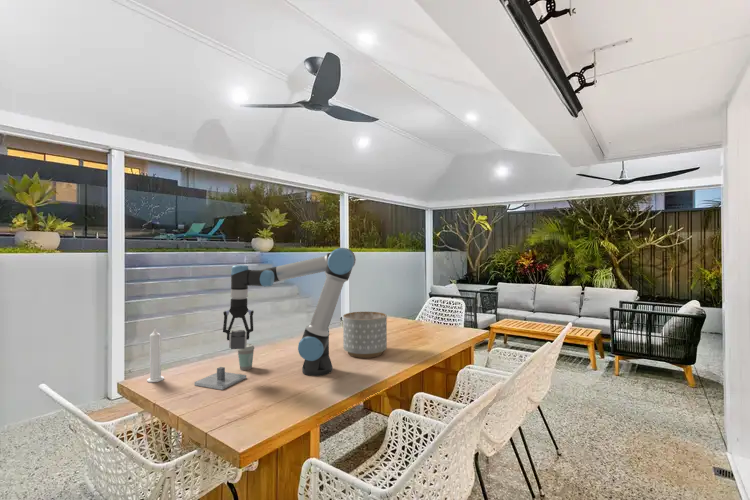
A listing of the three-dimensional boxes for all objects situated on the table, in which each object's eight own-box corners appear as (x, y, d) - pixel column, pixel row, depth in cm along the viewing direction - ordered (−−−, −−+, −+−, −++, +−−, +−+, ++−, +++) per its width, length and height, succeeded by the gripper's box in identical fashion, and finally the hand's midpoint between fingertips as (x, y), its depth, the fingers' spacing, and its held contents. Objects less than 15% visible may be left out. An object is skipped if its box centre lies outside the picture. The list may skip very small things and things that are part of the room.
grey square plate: (246, 378, 188) (246, 364, 188) (222, 389, 173) (222, 375, 173) (219, 374, 194) (219, 361, 193) (194, 385, 179) (194, 371, 179)
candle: (167, 378, 188) (166, 326, 188) (154, 383, 181) (154, 329, 181) (156, 376, 190) (155, 325, 190) (143, 381, 184) (142, 328, 183)
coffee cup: (249, 371, 198) (249, 348, 197) (233, 370, 199) (233, 347, 199) (257, 366, 206) (257, 343, 206) (242, 365, 208) (242, 342, 207)
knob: (245, 345, 189) (245, 328, 189) (244, 348, 183) (245, 331, 183) (231, 345, 187) (232, 329, 187) (230, 349, 181) (230, 332, 181)
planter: (394, 350, 235) (394, 313, 234) (371, 361, 213) (371, 321, 213) (359, 345, 248) (359, 310, 248) (334, 354, 227) (334, 316, 226)
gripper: (260, 296, 191) (259, 343, 191) (218, 297, 185) (217, 345, 186) (260, 298, 183) (258, 348, 184) (216, 299, 178) (215, 349, 179)
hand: (237, 346), depth 185 cm, fingers closed on knob, 6 cm apart
